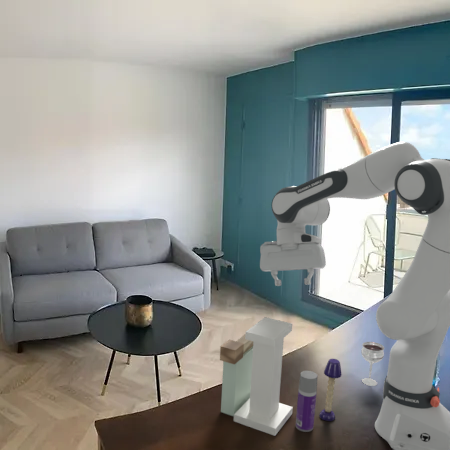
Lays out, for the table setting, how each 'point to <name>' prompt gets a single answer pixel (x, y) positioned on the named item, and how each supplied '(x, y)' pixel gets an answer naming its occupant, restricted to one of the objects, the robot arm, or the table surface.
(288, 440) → the table surface
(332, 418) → the toy lamp
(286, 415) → the white i-beam pillar
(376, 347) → the wineglass
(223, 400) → the pale green rectangular block
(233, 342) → the tan long block
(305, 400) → the container
